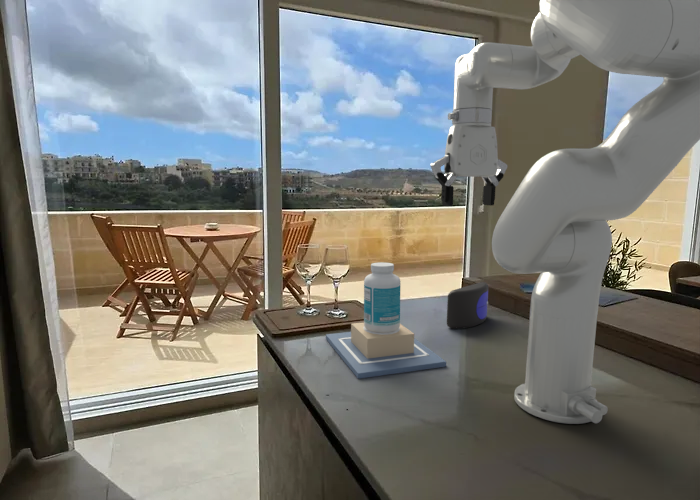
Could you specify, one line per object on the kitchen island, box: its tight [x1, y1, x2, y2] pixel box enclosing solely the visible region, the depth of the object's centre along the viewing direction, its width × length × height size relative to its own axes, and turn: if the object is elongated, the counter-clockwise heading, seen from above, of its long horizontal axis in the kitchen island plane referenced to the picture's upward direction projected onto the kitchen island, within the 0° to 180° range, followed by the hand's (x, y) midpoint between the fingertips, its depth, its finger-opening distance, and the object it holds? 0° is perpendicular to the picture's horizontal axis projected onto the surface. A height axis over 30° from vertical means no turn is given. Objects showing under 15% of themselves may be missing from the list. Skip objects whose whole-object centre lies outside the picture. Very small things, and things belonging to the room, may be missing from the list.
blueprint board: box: [325, 321, 447, 380], centre depth 98 cm, size 22×18×5 cm
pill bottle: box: [363, 261, 401, 333], centre depth 96 cm, size 8×7×14 cm
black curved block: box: [446, 281, 489, 330], centre depth 116 cm, size 16×5×9 cm, turn 134°
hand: (468, 205), depth 97 cm, fingers open, 9 cm apart
